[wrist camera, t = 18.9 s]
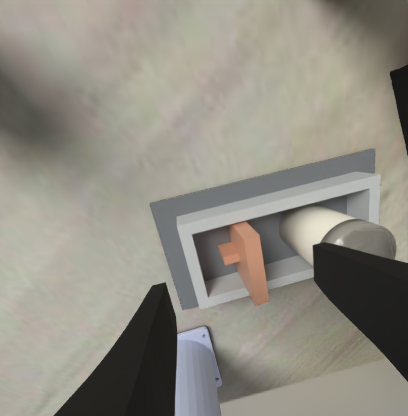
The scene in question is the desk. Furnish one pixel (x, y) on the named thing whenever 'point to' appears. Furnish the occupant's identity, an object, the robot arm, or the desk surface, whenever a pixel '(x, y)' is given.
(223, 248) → the pusher
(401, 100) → the binder
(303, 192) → the base
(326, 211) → the jar
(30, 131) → the desk surface
